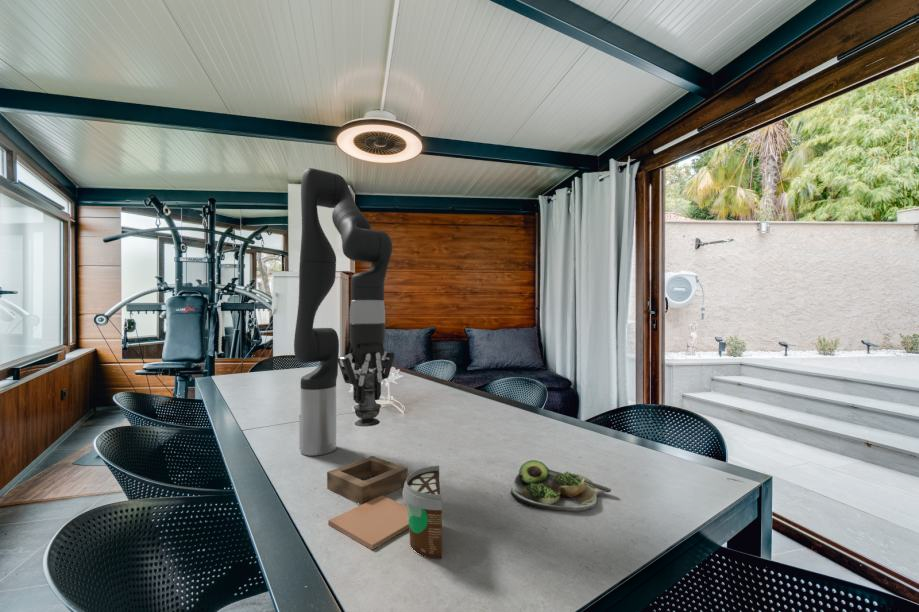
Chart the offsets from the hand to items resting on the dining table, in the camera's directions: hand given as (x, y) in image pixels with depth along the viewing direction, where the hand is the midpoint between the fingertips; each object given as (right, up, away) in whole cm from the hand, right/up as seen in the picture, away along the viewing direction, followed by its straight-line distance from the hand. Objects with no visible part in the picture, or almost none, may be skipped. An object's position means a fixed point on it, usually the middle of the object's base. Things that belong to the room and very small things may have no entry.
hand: (367, 400), depth 85 cm
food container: (+14, -18, -21) cm, 31 cm away
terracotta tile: (+5, -18, -15) cm, 24 cm away
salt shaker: (0, -5, 0) cm, 5 cm away
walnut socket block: (0, -18, 0) cm, 18 cm away
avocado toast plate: (+39, -18, -3) cm, 43 cm away
